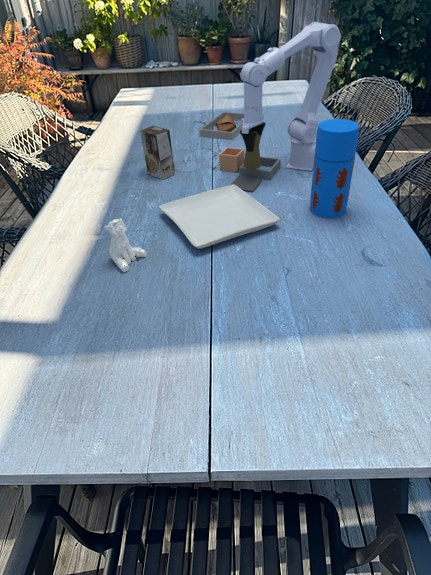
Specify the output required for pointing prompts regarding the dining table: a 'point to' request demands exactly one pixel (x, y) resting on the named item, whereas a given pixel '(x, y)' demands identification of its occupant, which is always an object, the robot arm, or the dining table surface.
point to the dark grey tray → (209, 133)
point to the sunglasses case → (226, 124)
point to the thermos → (333, 167)
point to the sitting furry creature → (122, 245)
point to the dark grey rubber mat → (246, 183)
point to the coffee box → (158, 151)
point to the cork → (253, 156)
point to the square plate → (218, 215)
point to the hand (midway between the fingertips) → (252, 148)
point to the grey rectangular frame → (262, 174)
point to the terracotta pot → (231, 159)
